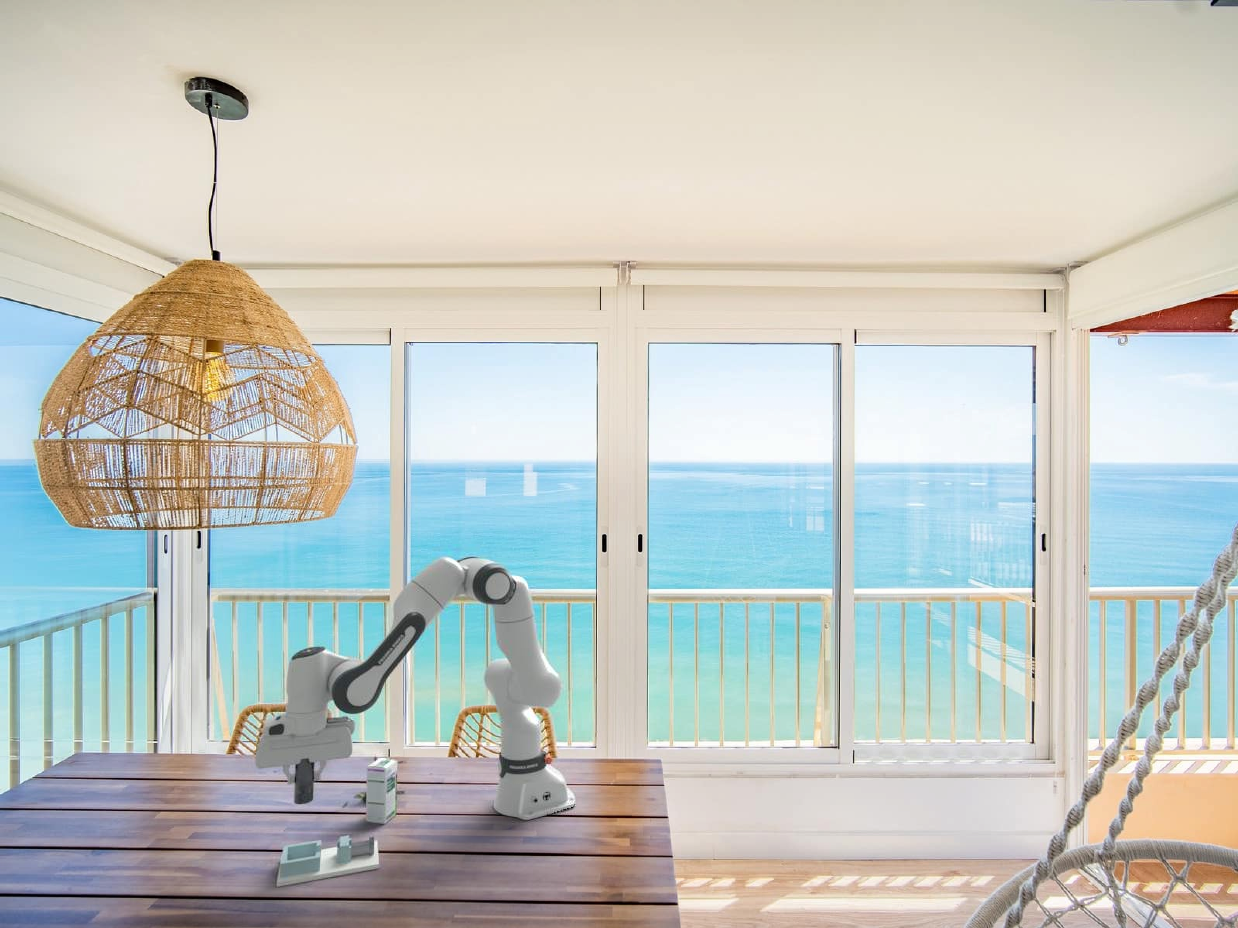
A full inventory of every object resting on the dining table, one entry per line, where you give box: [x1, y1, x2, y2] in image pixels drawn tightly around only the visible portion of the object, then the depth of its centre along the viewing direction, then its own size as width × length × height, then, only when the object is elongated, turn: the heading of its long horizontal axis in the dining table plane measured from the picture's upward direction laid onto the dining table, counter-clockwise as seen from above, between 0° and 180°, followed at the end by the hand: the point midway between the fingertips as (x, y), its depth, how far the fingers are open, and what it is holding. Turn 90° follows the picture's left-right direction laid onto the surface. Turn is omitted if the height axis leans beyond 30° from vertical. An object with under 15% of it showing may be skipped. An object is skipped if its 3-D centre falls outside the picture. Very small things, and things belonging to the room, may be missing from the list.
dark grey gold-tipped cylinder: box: [293, 758, 316, 805], centre depth 154 cm, size 4×4×12 cm
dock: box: [276, 835, 380, 888], centre depth 155 cm, size 21×11×5 cm, turn 112°
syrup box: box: [365, 757, 398, 825], centre depth 177 cm, size 6×6×14 cm
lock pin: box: [336, 836, 375, 857], centre depth 157 cm, size 8×3×3 cm, turn 112°
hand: (304, 781), depth 154 cm, fingers closed on dark grey gold-tipped cylinder, 4 cm apart
